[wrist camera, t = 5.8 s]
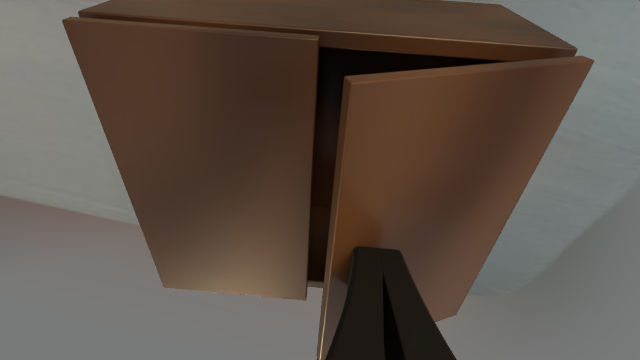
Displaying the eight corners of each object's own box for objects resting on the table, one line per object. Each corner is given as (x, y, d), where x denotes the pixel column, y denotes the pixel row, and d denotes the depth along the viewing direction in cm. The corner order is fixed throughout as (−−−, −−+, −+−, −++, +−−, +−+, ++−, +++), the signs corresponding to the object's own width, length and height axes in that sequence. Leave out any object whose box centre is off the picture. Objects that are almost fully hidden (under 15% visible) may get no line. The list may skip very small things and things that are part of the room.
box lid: (582, 55, 9) (596, 59, 9) (451, 307, 16) (456, 314, 16) (343, 75, 7) (351, 82, 7) (316, 354, 14) (319, 363, 14)
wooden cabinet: (501, 4, 14) (596, 58, 9) (428, 215, 21) (455, 315, 16) (166, -20, 14) (57, 17, 9) (208, 196, 22) (162, 288, 16)
